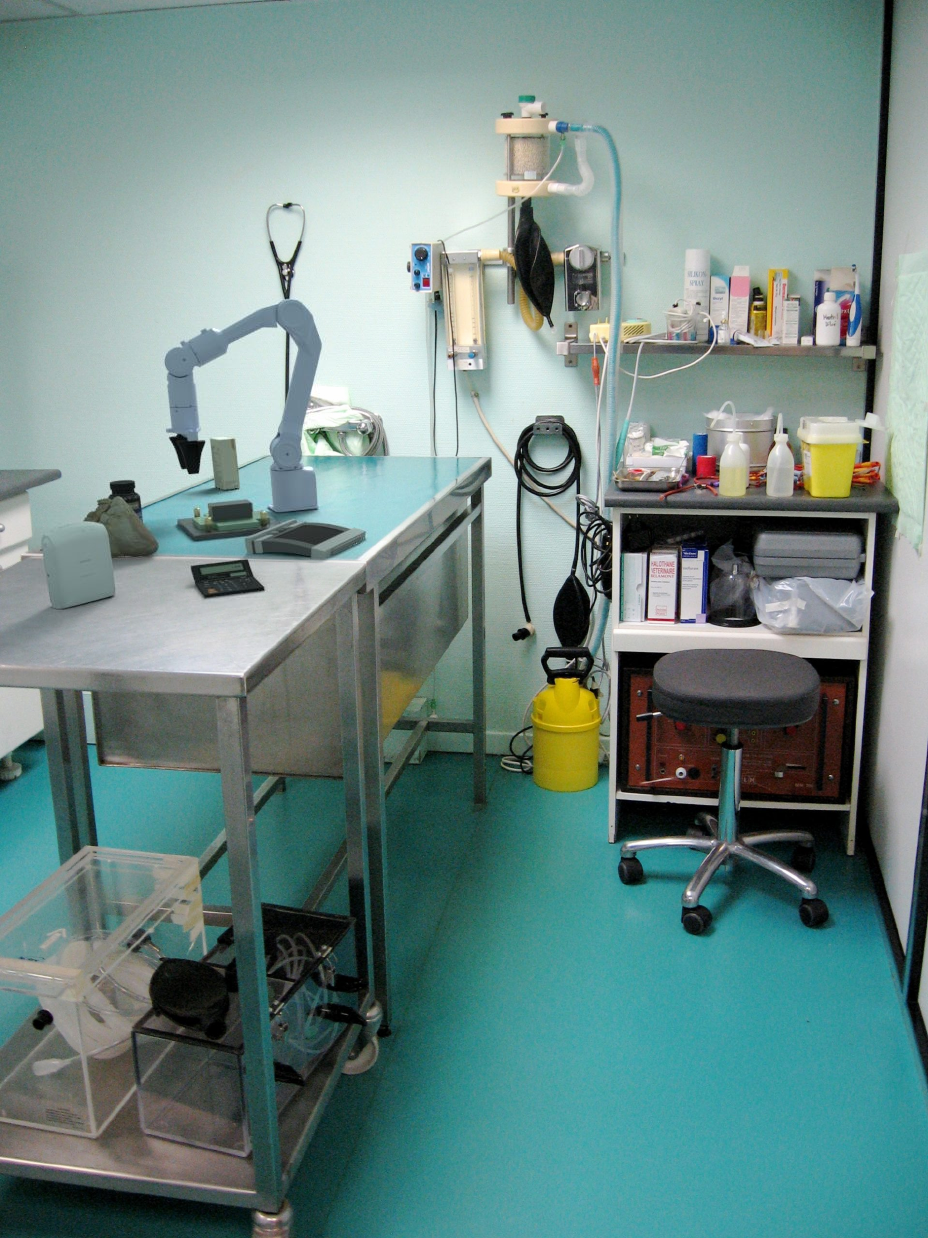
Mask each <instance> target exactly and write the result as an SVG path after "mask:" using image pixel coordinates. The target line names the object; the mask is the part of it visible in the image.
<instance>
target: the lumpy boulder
mask: <svg viewBox="0 0 928 1238" xmlns="http://www.w3.org/2000/svg"><path fill="white" fill-rule="evenodd" d="M96 502H97V504H96V505H97V507H96V508H95V509H94V510H93V511H92V510H91V511H89V512H88V513H87V515H86V517H84V519H83V521H86V522H95V523H99V524H103V525H104V527H105V528H106V530H107V533H108V537H109V544H110V551H111V558H119V557H118V556H120V557H122V556H124V557H123V558H126V557H125V556H131V557H130V558H136V557H137V558H139V556H143V557H149V556H152V555H154V554H155V553H157V552H158V550H159V547H160V546H159V542H158V540H157V539H156V537H155V536H154V535H153V533H152V532H151V530H150V529H149V528H148V526H146V525H145V523H144V521H143V522H142V521H141V520H140V518H139V517H138V516H137V514H136V513H135V512H134V511H133V509H132V508H131V507H130V506H129V505H128V504H127V503H126V502H125V501H124V500H123V499H122V498H121V497H119V496H117V497H115V498H114V500H110V499H109V498H108V497H105V498H100V499H98V500H96Z"/></svg>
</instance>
